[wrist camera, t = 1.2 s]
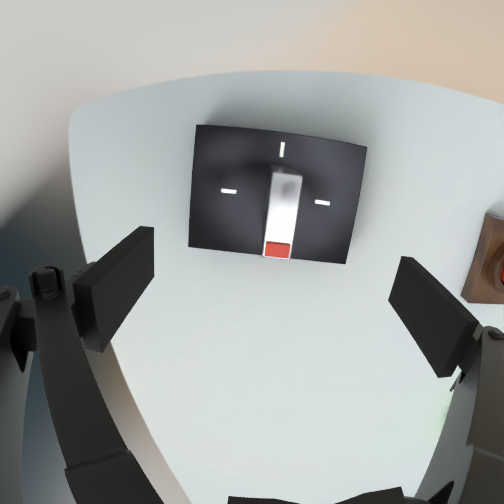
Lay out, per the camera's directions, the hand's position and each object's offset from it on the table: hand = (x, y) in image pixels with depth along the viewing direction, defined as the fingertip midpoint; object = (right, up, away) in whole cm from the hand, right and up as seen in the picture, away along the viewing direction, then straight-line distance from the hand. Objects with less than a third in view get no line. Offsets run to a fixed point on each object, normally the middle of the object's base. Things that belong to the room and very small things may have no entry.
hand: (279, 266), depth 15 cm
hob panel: (+1, +7, +16) cm, 17 cm away
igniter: (+33, 0, +18) cm, 38 cm away
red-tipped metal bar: (+1, +6, +13) cm, 14 cm away
